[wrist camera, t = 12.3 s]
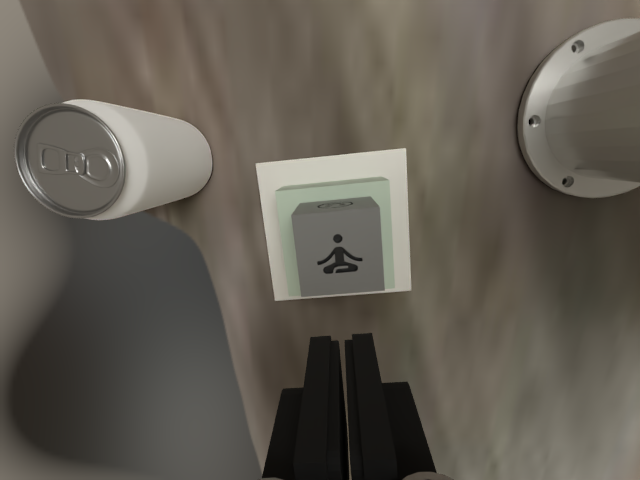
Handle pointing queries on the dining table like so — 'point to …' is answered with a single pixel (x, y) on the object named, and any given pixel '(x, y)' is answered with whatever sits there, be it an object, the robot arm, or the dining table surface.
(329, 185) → the sage brick
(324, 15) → the dining table surface
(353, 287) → the dice cube
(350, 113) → the dining table surface
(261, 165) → the baseplate
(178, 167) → the can
